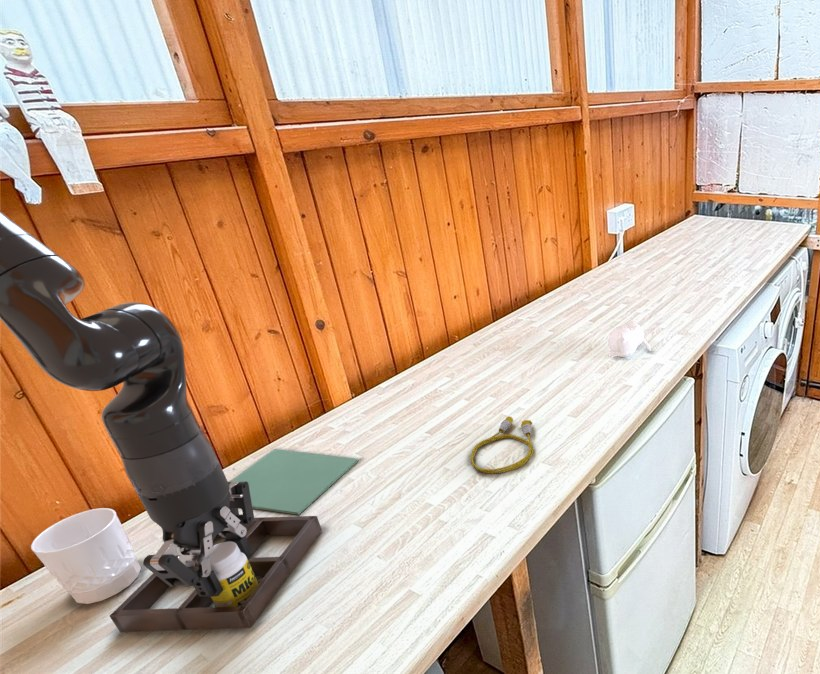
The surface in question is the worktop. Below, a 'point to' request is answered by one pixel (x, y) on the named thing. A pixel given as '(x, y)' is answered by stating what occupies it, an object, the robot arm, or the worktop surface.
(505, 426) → the extension cord
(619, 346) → the cat figurine
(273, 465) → the drying mat
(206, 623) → the brown compartment tray
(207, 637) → the worktop surface
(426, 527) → the worktop surface
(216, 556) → the supplement bottle
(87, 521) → the white cup
